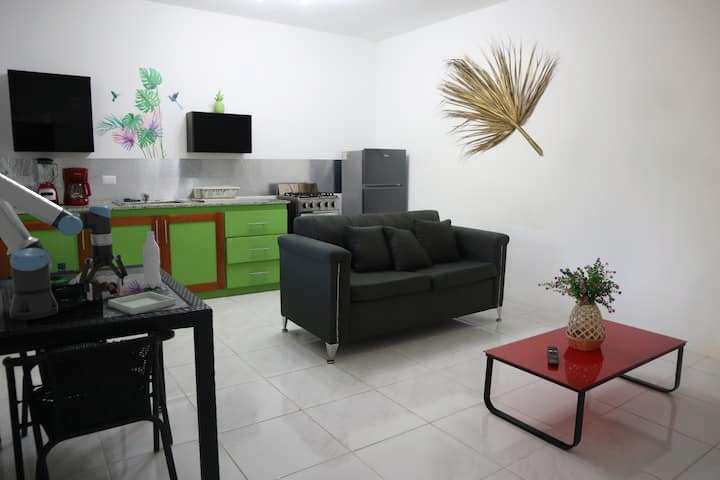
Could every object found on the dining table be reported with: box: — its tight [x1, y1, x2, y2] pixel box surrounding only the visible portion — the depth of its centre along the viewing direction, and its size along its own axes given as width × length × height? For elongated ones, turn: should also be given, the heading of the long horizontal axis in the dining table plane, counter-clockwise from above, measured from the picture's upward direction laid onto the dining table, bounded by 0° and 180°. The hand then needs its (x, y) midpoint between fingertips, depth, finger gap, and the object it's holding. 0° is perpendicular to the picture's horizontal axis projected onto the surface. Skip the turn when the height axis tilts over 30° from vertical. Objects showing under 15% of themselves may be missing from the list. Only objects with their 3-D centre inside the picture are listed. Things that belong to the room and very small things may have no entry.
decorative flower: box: [50, 267, 92, 286], centre depth 233 cm, size 13×5×30 cm
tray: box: [107, 291, 176, 316], centre depth 202 cm, size 18×18×2 cm
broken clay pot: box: [92, 280, 121, 300], centre depth 212 cm, size 12×10×8 cm
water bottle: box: [142, 230, 162, 289], centre depth 230 cm, size 7×7×25 cm
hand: (105, 296), depth 212 cm, fingers closed on broken clay pot, 11 cm apart
